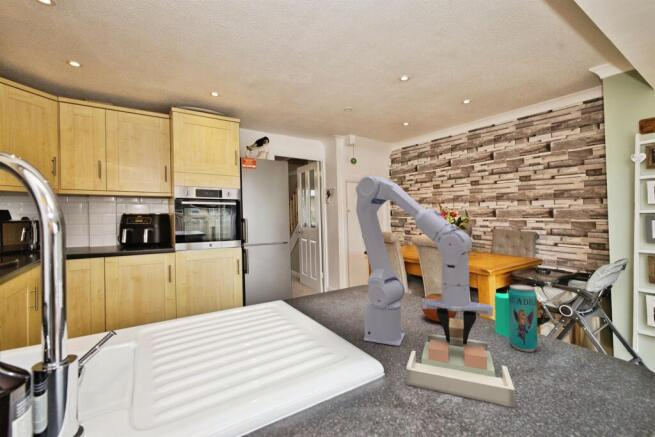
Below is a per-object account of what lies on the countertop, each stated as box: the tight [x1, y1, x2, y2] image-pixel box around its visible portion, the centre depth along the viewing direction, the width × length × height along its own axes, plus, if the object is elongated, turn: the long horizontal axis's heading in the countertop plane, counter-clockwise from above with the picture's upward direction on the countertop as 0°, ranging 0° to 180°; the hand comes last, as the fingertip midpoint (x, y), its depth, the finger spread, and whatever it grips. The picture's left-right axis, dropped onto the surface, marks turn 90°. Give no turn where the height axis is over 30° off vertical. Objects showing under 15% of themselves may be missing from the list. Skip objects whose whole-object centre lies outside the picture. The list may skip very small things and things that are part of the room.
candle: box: [494, 292, 509, 338], centre depth 80 cm, size 6×6×12 cm
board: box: [421, 341, 496, 377], centre depth 64 cm, size 14×10×2 cm
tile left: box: [428, 339, 449, 363], centre depth 64 cm, size 4×5×2 cm
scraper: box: [427, 318, 488, 351], centre depth 73 cm, size 13×8×6 cm, turn 66°
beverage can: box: [508, 284, 538, 353], centre depth 71 cm, size 6×6×15 cm
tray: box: [405, 350, 516, 409], centre depth 56 cm, size 18×8×3 cm, turn 66°
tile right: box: [464, 344, 487, 370], centre depth 61 cm, size 4×5×2 cm
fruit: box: [421, 292, 458, 323], centre depth 91 cm, size 11×10×8 cm
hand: (456, 342), depth 66 cm, fingers open, 3 cm apart
